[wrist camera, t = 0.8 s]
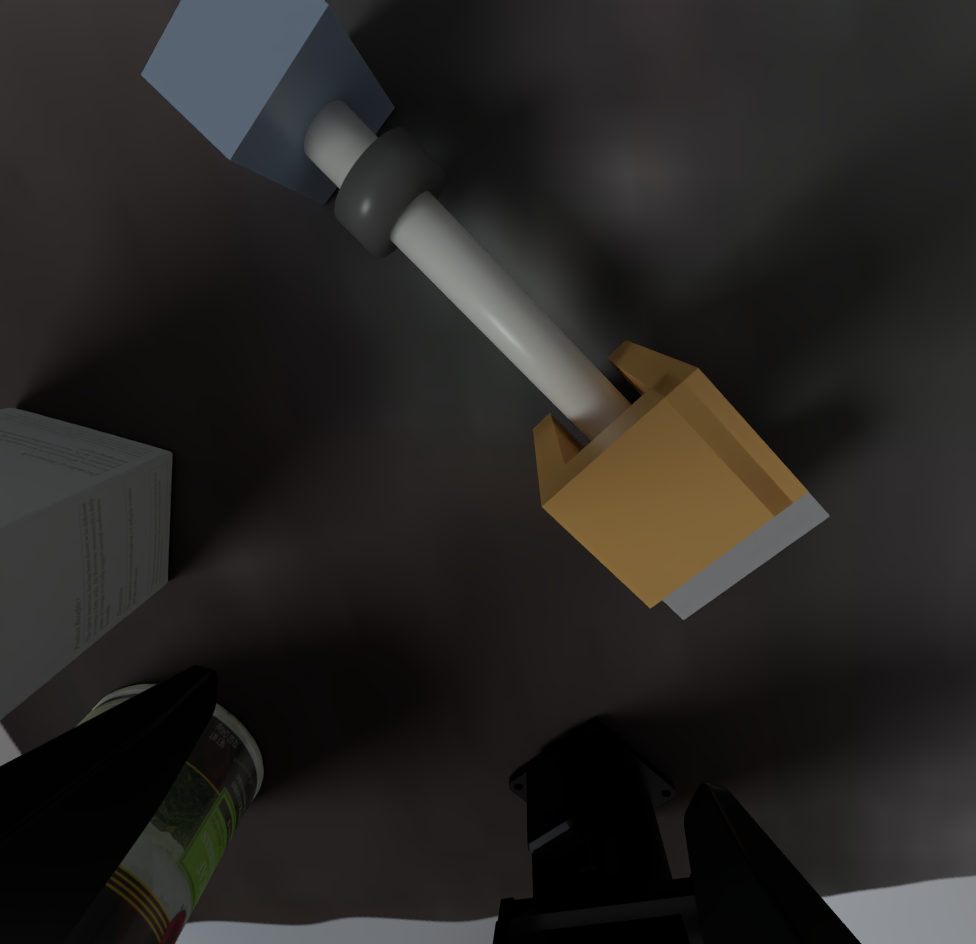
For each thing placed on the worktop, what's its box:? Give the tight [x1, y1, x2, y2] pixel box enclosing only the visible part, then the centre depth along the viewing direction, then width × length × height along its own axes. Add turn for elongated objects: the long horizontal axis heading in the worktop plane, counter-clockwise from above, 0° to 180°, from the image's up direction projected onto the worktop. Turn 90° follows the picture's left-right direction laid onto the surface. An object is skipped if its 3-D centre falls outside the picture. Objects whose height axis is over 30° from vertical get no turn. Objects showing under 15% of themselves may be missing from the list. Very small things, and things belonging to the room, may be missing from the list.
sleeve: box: [533, 340, 809, 608], centre depth 15 cm, size 4×5×7 cm
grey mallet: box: [141, 0, 829, 620], centre depth 16 cm, size 22×6×6 cm, turn 46°
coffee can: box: [64, 684, 264, 944], centre depth 21 cm, size 10×10×14 cm
